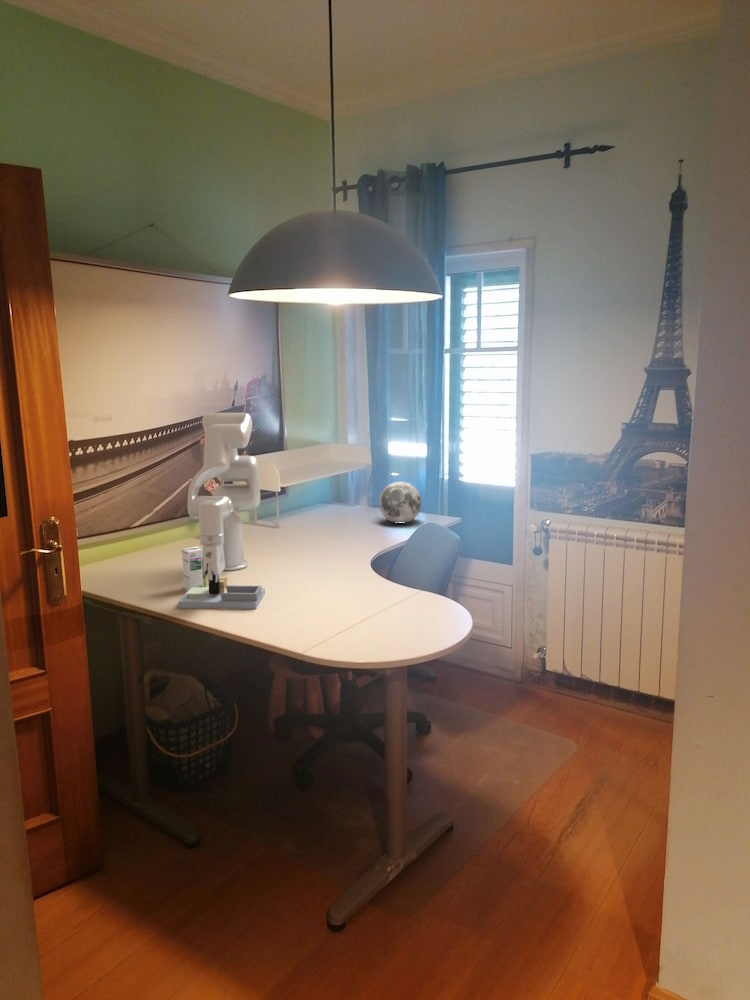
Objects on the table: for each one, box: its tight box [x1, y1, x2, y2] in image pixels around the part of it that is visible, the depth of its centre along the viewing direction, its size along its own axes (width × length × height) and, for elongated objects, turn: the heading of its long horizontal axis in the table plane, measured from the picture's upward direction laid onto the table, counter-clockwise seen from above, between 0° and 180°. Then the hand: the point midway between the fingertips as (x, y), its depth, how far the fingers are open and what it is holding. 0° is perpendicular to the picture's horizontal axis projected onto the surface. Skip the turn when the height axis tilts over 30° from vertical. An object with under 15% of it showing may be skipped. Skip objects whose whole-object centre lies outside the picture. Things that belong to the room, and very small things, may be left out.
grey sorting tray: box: [177, 584, 266, 610], centre depth 240 cm, size 15×25×4 cm, turn 88°
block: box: [219, 576, 229, 593], centre depth 244 cm, size 5×5×4 cm
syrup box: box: [181, 545, 207, 592], centre depth 251 cm, size 6×6×14 cm
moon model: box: [378, 481, 422, 524], centre depth 348 cm, size 20×20×20 cm
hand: (214, 593), depth 239 cm, fingers closed
